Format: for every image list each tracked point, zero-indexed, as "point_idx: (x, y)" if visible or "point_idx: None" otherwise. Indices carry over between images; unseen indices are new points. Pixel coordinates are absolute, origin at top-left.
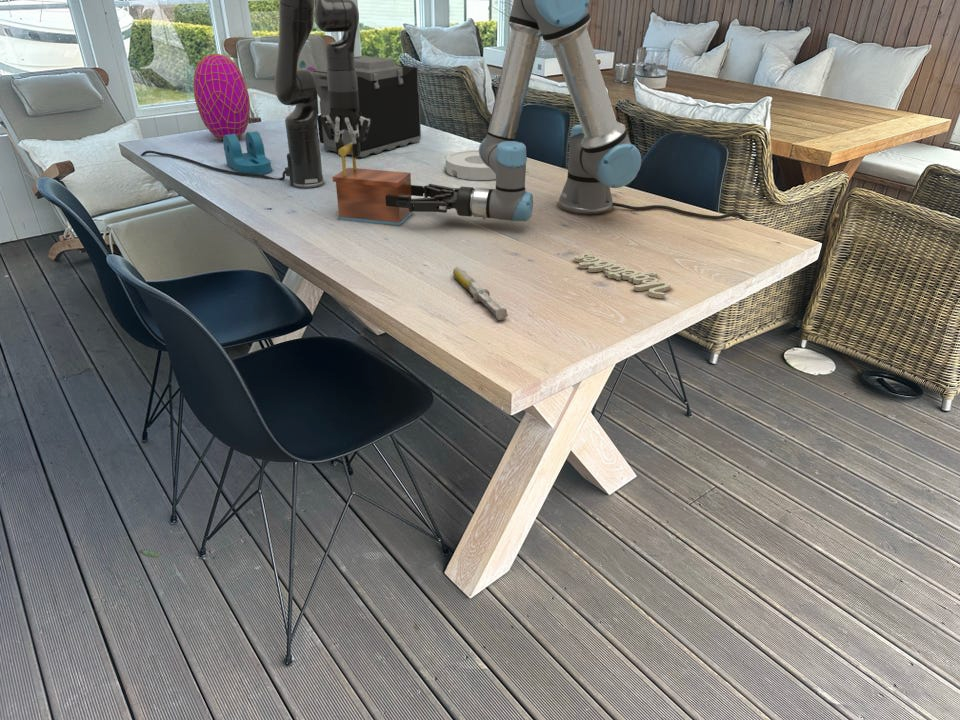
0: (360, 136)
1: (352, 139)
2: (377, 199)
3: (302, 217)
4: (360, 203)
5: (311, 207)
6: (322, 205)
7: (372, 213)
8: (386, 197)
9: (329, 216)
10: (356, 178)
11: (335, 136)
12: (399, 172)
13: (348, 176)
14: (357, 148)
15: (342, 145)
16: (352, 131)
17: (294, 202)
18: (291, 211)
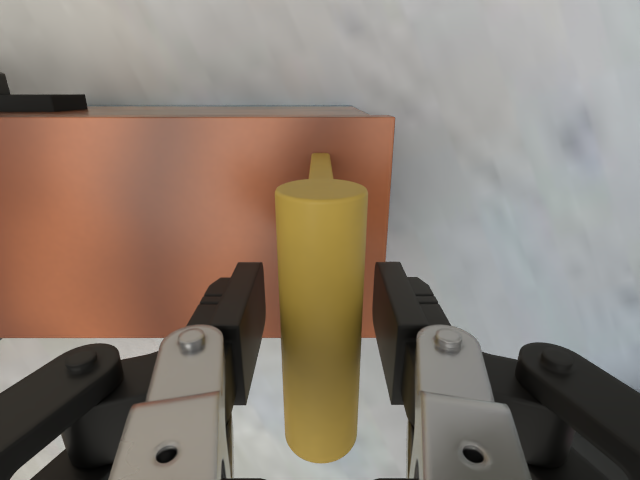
0: (51, 396)
1: (210, 360)
2: (126, 110)
3: (512, 82)
4: (233, 109)
5: (513, 211)
6: (478, 243)
7: (187, 107)
8: (51, 95)
9: (405, 129)
10: (218, 129)
11: (476, 377)
12: (47, 326)
13: (294, 160)
14: (198, 315)
15: (386, 353)
16: (129, 438)
17: (597, 246)
18: (581, 142)
